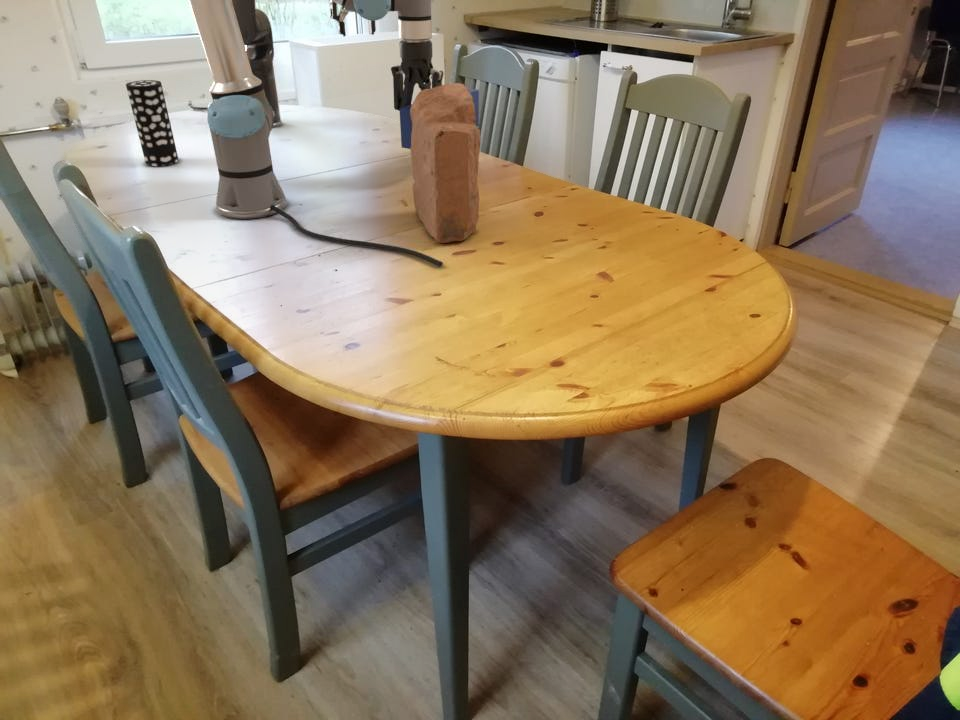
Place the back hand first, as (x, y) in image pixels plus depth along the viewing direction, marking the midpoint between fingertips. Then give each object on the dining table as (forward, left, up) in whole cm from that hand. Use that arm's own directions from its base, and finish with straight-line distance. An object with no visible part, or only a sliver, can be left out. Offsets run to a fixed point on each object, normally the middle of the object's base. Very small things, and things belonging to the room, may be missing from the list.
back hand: (357, 35), depth 196 cm
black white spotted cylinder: (-34, -48, -18) cm, 61 cm away
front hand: (+36, -30, -18) cm, 50 cm away
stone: (+56, -54, -28) cm, 82 cm away
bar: (+37, -20, -19) cm, 46 cm away
